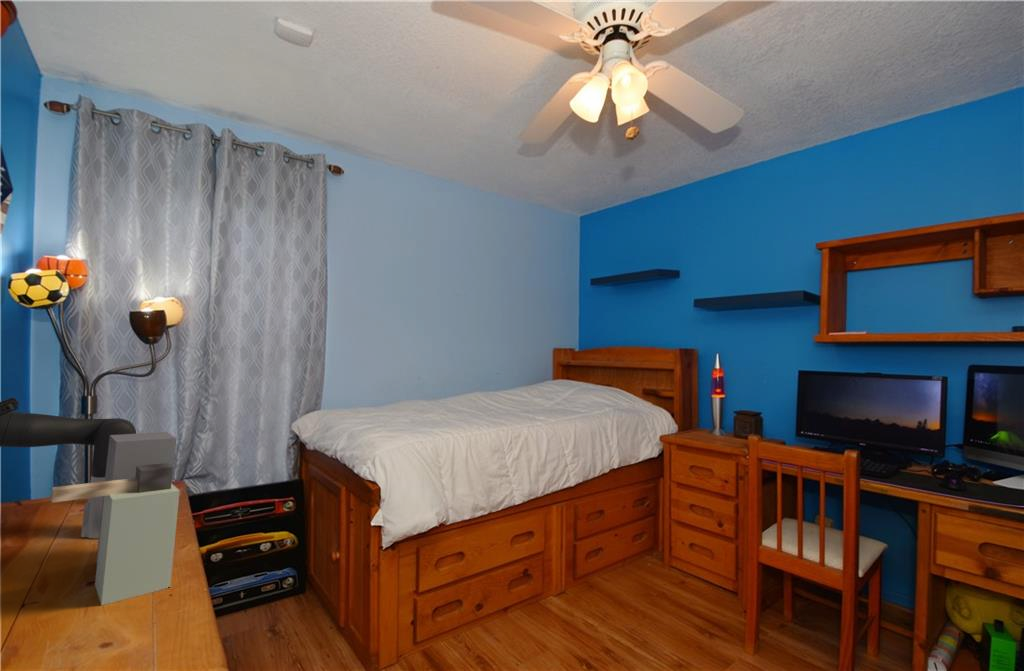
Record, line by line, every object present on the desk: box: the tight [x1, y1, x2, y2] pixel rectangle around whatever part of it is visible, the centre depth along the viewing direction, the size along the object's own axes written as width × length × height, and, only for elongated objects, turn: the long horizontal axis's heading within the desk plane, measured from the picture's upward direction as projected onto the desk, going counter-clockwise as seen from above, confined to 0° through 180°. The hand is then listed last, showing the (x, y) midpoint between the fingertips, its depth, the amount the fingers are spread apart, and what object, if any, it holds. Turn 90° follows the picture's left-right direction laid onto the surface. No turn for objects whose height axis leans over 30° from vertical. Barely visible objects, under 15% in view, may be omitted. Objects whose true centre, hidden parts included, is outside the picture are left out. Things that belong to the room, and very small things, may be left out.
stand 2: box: [94, 482, 181, 606], centre depth 107 cm, size 12×12×22 cm
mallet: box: [50, 463, 174, 504], centre depth 104 cm, size 20×6×5 cm, turn 137°
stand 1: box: [95, 431, 177, 564], centre depth 118 cm, size 12×12×32 cm
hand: (16, 402), depth 107 cm, fingers open, 8 cm apart
